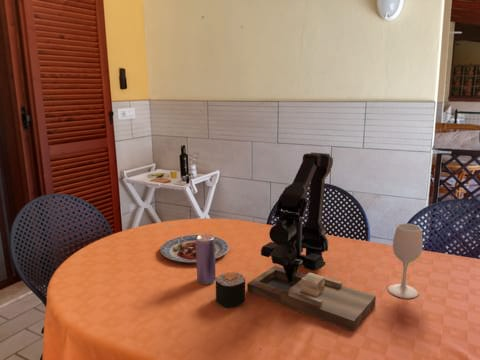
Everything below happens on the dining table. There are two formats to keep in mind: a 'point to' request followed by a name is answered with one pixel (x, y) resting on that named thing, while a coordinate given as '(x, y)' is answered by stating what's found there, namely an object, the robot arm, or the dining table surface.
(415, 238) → the wineglass
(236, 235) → the dining table surface
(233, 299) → the sushi
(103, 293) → the dining table surface
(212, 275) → the beverage can
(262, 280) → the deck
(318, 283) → the block
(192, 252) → the ceramic plate
